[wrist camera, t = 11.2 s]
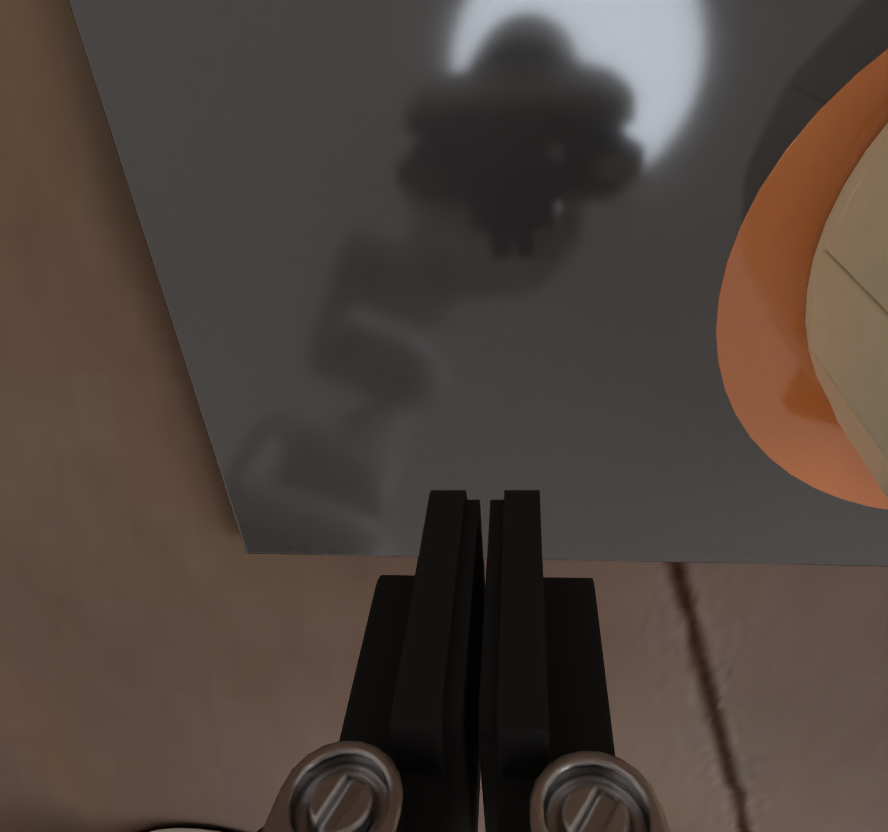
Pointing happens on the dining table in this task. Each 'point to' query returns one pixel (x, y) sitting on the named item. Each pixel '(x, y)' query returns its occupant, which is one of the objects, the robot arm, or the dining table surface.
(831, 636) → the dining table surface
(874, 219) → the pot
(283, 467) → the cooktop
